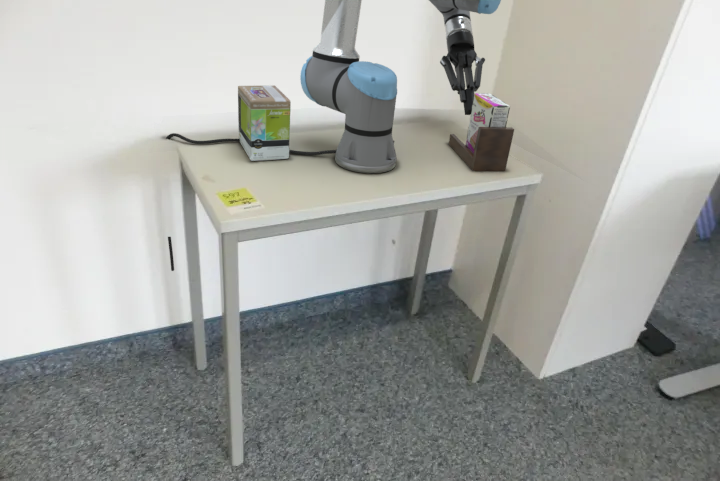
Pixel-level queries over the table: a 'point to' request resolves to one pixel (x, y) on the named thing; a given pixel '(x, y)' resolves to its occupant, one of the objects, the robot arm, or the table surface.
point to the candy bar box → (485, 116)
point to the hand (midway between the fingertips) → (469, 112)
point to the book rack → (486, 149)
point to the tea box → (264, 122)
